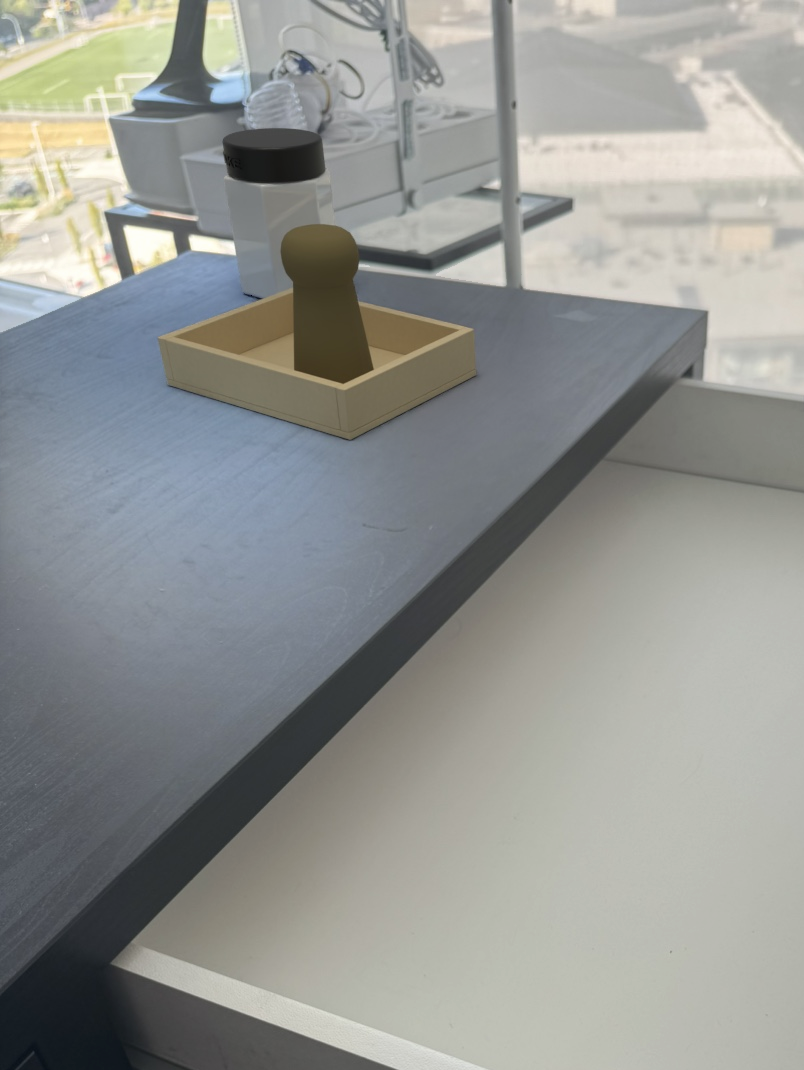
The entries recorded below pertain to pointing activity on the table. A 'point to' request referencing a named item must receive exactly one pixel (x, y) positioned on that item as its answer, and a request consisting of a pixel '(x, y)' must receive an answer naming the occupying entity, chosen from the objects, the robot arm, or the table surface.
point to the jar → (273, 199)
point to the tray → (279, 391)
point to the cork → (325, 303)
